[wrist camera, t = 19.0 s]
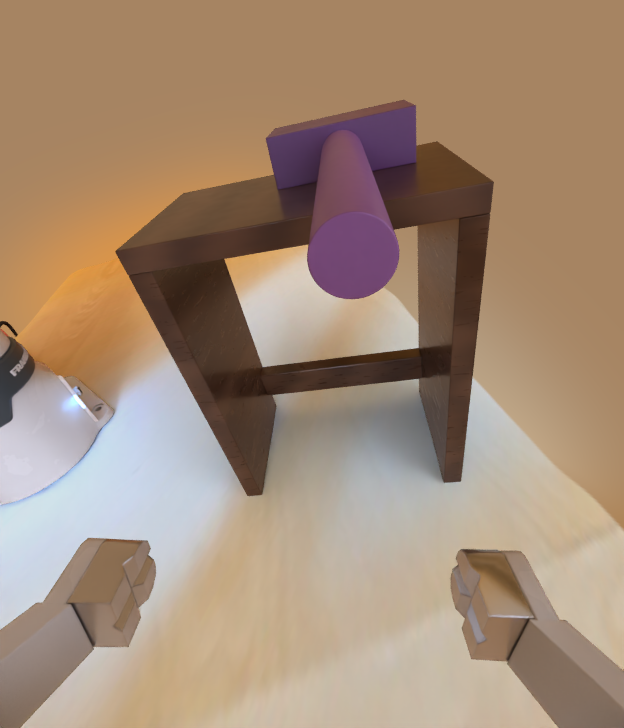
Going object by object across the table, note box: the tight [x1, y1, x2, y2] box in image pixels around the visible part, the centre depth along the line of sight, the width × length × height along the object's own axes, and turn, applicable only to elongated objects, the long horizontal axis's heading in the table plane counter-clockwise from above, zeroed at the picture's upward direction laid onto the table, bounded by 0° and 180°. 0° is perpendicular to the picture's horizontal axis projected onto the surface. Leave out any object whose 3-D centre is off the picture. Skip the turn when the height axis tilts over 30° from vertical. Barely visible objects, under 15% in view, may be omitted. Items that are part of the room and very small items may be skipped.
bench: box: [116, 142, 494, 496], centre depth 31 cm, size 20×12×25 cm, turn 87°
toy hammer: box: [266, 100, 416, 299], centre depth 18 cm, size 20×9×3 cm, turn 177°
